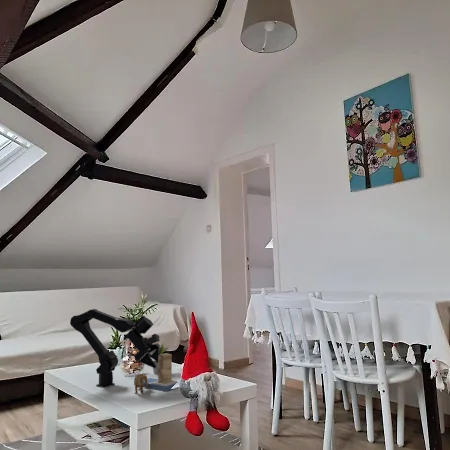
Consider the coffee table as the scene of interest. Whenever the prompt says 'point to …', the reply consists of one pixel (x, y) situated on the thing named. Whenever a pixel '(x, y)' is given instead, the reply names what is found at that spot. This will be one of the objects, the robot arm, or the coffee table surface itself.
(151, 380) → the blueprint board
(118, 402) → the coffee table surface
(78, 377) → the coffee table surface
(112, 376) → the robot arm
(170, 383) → the grey socket
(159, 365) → the oak pillar
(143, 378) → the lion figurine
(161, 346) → the house plant
